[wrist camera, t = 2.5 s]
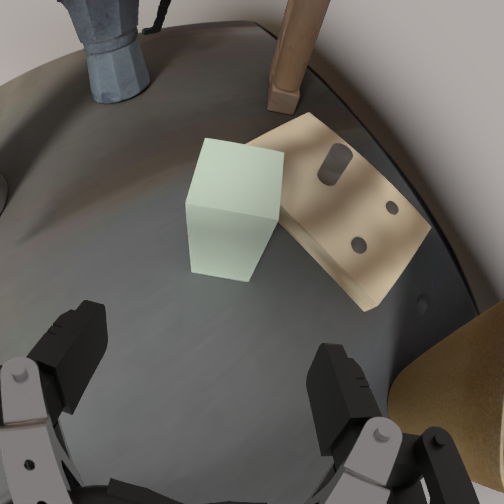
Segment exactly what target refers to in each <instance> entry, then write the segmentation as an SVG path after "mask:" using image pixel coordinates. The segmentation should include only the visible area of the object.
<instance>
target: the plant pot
mask: <svg viewBox="0 0 504 504" xmlns="http://www.w3.org/2000/svg"><path fill="white" fill-rule="evenodd" d="M388 413H389V417H390V420H392V421H393V422H394V423H396V424H397V425H398V427H399V428H400V430H401V432H402V433H408V434H414V435H421V434H422V433H423V432H424V431H425V430H426V429H427V428H429V427H432V426H436V427H441V428H443V429H445V430H446V431H447V432H448V433H449V434H450V435H451V437H452V438H453V441H454V443H455V445H456V447H457V449H458V452H459V454H460V456H461V458H462V461H463V463H464V465H465V468H466V470H467V473H468V475H469V477H470V480H471V481H473V482H475V483H478V484H480V485H483V486H485V487H488V488H491V489H494V490H496V491H499V492H503V493H504V300H502V301H501V302H499V303H497V304H496V305H494V306H493V307H491V308H490V309H488V310H486V311H485V312H483V313H482V314H480V315H479V316H477V317H476V318H474V319H473V320H471V321H470V322H468V323H466V324H465V325H463V326H462V327H460V328H459V329H457V330H456V331H454V332H453V333H452V334H450V335H449V336H447V337H446V338H444V339H443V340H441V341H440V342H439V343H437V344H436V345H434V346H433V347H431V348H430V349H429V350H427V351H426V352H425V353H423V354H422V355H421V356H419V357H418V358H417V359H415V360H414V361H413V362H412V363H410V364H409V365H408V366H407V367H405V368H404V369H403V370H402V371H401V372H400V373H399V374H398V375H397V377H396V378H395V380H394V382H393V384H392V386H391V388H390V392H389V396H388Z"/></svg>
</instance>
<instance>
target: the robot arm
mask: <svg viewBox="0 0 504 504" xmlns="http://www.w3.org/2000/svg"><path fill="white" fill-rule="evenodd" d="M7 193H8V185H7V182H6V180H5V179H4V177H3V176H2V174H1V173H0V214H1V212H2V210H3V207H4V205H5V202H6V198H7ZM107 343H108V334H107V323H106V311H105V306H104V305H103V304H100V303H96V302H92V301H88V300H84V301H83V302H82V303H81V304H80V306H79V307H78V308H77V309H76V310H69V311H67V312H66V313H64V314H62V315H60V316H59V317H58V319H57V320H56V321H55V322H54V323H53V326H51V327H50V328H49V329H48V330H47V332H46V333H45V334H44V335H43V337H42V338H41V339H40V340H39V341H38V343H37V344H36V345H35V346H34V348H33V349H32V350H31V351H30V353H29V354H28V355H27V357H15V358H12V359H10V360H8V361H7V362H6V363H5V364H4V365H3V366H2V365H0V449H1V454H2V460H3V465H4V469H5V474H6V478H7V482H8V486H9V490H10V493H11V497H12V500H13V503H14V504H183V503H180V502H178V501H175V500H173V499H170V498H168V497H165V496H163V495H161V494H159V493H156V492H154V491H152V490H150V489H148V488H144V487H140V486H136V485H132V484H129V483H125V482H122V481H119V480H115V479H112V478H110V482H109V485H92V486H85V485H84V483H83V481H82V479H81V477H80V475H79V473H78V471H77V469H76V467H75V465H74V463H73V460H72V457H71V455H70V452H69V449H68V446H67V443H66V440H65V437H64V434H63V430H62V427H61V424H60V420H59V416H60V414H61V412H62V411H64V412H66V413H68V414H71V415H73V413H74V411H75V409H76V407H77V405H78V403H79V401H80V399H81V397H82V395H83V393H84V391H85V389H86V387H87V385H88V383H89V381H90V379H91V377H92V375H93V374H94V372H95V370H96V368H97V366H98V364H99V362H100V361H101V359H102V357H103V355H104V353H105V351H106V348H107ZM365 378H366V377H365V375H364V373H363V371H362V368H361V367H360V366H359V365H358V364H357V363H356V362H355V361H354V360H353V359H352V358H348V357H347V355H346V352H345V350H344V348H343V346H342V345H340V344H328V343H322V344H321V345H320V346H319V348H318V351H317V353H316V355H315V358H314V360H313V362H312V365H311V367H310V369H309V371H308V374H307V380H306V387H307V392H308V396H309V401H310V405H311V410H312V414H313V419H314V423H315V428H316V433H317V437H318V442H319V447H320V452H321V456H333V459H334V462H333V463H332V464H331V466H330V467H329V469H328V471H327V472H326V474H325V475H324V477H323V478H322V480H321V481H320V483H319V484H318V486H317V487H316V489H315V490H314V492H313V493H312V494H311V496H310V497H309V499H308V500H307V501H306V502H305V504H386V503H387V504H427V501H426V497H425V494H424V491H423V488H422V484H421V481H420V480H421V479H422V478H423V477H424V479H425V483H426V485H427V489H428V492H429V495H430V504H479V501H478V498H477V496H476V493H475V490H474V488H473V485H472V482H471V480H470V477H469V475H468V473H467V470H466V468H465V465H464V463H463V461H462V458H461V456H460V454H459V452H458V449H457V447H456V445H455V443H454V441H453V438H452V437H451V435H450V434H449V433H448V432H447V431H446V430H445V429H443V428H441V427H436V426H432V427H429V428H427V429H426V430H425V431H424V432H423V433H422V434H421V435H414V434H408V433H402V432H401V430H400V428H399V427H398V425H397V424H396V423H394V422H393V421H392V420H390V419H387V418H384V417H382V415H381V412H380V410H379V408H378V405H377V403H376V401H375V398H374V396H373V394H372V391H371V389H370V388H369V384H368V382H367V380H365ZM208 504H267V503H249V502H231V501H227V502H218V503H208Z"/></svg>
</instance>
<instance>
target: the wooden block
mask: <svg viewBox="0 0 504 504" xmlns="http://www.w3.org/2000/svg"><path fill="white" fill-rule="evenodd" d="M329 3H330V0H288V3H287V6H286V10H285V14H284V18H283V21H282V25H281V29H280V32H279V37H278V40H277V43H276V47H275V51H274V55H273V59H272V63H271V67H270V71H269V82H270V84H269V88H268V103H267V109H268V110H269V111H274V112H279V113H284V114H289V115H293V114H294V112H295V109H296V106H297V104H298V101H299V98H300V90H299V88H300V86H301V83H302V80H303V77H304V74H305V71H306V68H307V65H308V63H309V60H310V57H311V53H312V51H313V48H314V45H315V42H316V40H317V37H318V34H319V31H320V28H321V26H322V23H323V20H324V17H325V14H326V11H327V8H328V6H329Z"/></svg>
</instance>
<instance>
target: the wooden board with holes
mask: <svg viewBox="0 0 504 504" xmlns="http://www.w3.org/2000/svg"><path fill="white" fill-rule="evenodd" d="M245 145H250V146H255V147H260V148H265V149H270V150H275V151H279V152H284V162H283V175H282V187H281V199H280V210H279V220H278V222H279V223H280V224H281V225H282V226H283V227H284V228H285V229H286V230H287V231H288V232H289V234H290V235H291V236H292V237H293V238H294V239H295V240H296V241H297V242H298V243H299V244H300V245H301V246H302V247H303V248H304V249H305V250H306V251H307V252H308V253H309V254H310V255H311V256H312V257H313V258H314V259H315V260H316V261H317V262H318V263H319V264H320V265H321V266H322V268H323V269H324V270H325V271H326V272H327V273H328V274H329V275H330V276H331V277H332V278H333V279H334V280H335V281H336V282H337V283H338V284H339V286H340V287H341V288H342V289H343V290H344V291H345V292H346V293H347V294H348V295H349V296H350V297H351V298H352V299H353V301H354V302H355V303H356V304H357V305H358V306H359V307H360V308H361V309H362V310H363V311H364V312H365V311H368V310H370V309H372V308H374V307H377V306H378V305H379V304H380V302H381V301H382V300H383V298H384V297H385V296H386V294H387V293H388V292H389V290H390V289H391V287H392V286H393V285H394V283H395V282H396V281H397V279H398V278H399V276H400V275H401V273H402V272H403V271H404V269H405V268H406V266H407V265H408V263H409V262H410V260H411V259H412V257H413V256H414V254H415V253H416V251H417V250H418V248H419V246H420V245H421V243H422V242H423V240H424V239H425V237H426V235H427V234H428V232H429V231H430V229H431V226H430V225H429V224H428V222H427V221H426V220H425V219H424V218H423V217H422V216H421V215H420V214H419V212H418V211H417V210H416V209H415V208H414V207H413V206H412V205H411V204H410V203H409V202H408V201H407V200H406V198H405V197H404V196H403V195H402V194H401V193H400V192H399V191H398V190H397V189H396V188H395V187H394V186H393V185H392V184H391V183H390V182H389V181H388V180H387V179H386V178H385V177H384V176H383V175H382V174H381V173H380V172H378V171H377V170H376V169H375V168H374V167H373V166H372V165H371V164H370V163H369V162H368V161H367V160H366V159H365V158H363V157H362V156H361V155H360V154H359V153H358V152H357V151H356V150H354V149H353V148H352V147H351V146H350V145H349V144H348V143H346V142H345V141H344V140H343V139H342V138H341V137H339V136H338V135H337V134H336V133H335V132H333V131H332V130H331V129H330V128H328V127H327V126H326V125H325V124H323V123H322V122H321V121H320V120H318V119H317V118H316V117H315V116H313V115H312V114H311V113H309V112H308V113H306V114H304V115H302V116H300V117H297V118H295V119H293V120H291V121H289V122H287V123H285V124H283V125H281V126H279V127H277V128H275V129H273V130H271V131H269V132H267V133H265V134H264V135H262V136H260V137H258V138H256V139H254V140H252V141H250V142H248V143H247V144H245Z"/></svg>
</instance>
